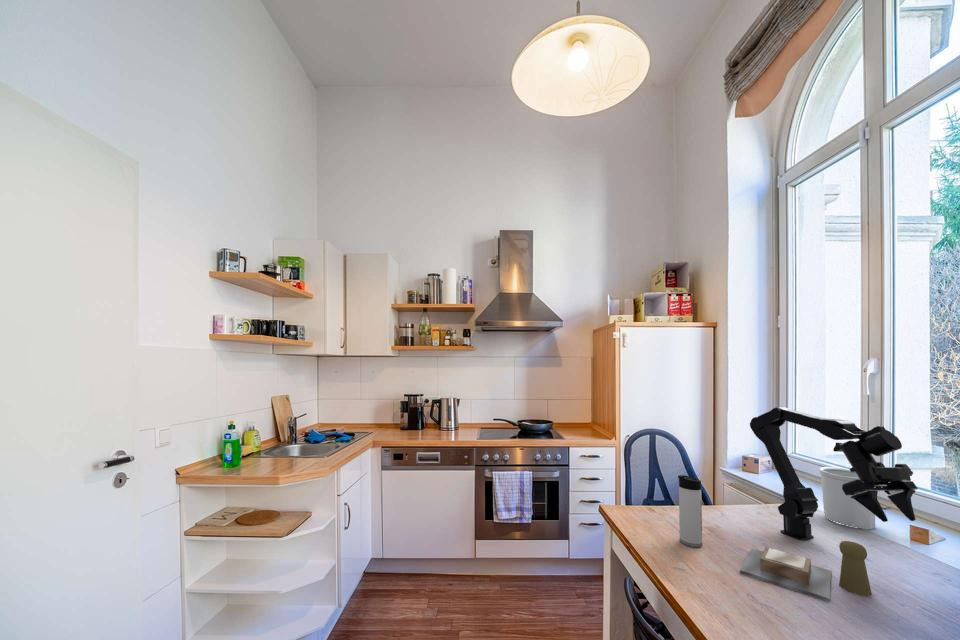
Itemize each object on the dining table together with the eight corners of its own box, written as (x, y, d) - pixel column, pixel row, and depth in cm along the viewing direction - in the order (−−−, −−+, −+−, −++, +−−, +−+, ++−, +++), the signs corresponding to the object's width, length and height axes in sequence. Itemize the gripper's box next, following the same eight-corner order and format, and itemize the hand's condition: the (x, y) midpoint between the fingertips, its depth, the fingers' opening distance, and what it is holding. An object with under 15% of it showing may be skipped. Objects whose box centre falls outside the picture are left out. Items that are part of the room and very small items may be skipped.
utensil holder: (866, 533, 137) (863, 479, 139) (814, 517, 150) (811, 468, 152) (885, 526, 144) (882, 475, 145) (833, 511, 157) (831, 465, 159)
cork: (878, 597, 98) (875, 549, 99) (849, 593, 100) (846, 546, 101) (860, 584, 104) (858, 539, 105) (833, 580, 105) (831, 536, 106)
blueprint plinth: (740, 573, 108) (739, 557, 108) (751, 551, 121) (751, 537, 121) (829, 601, 96) (828, 583, 96) (831, 573, 109) (830, 557, 110)
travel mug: (674, 538, 128) (673, 473, 130) (694, 538, 129) (693, 473, 131) (686, 547, 122) (684, 479, 124) (707, 547, 122) (705, 479, 124)
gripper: (861, 451, 109) (901, 514, 100) (916, 452, 113) (960, 513, 103) (826, 465, 118) (860, 524, 108) (878, 465, 121) (915, 522, 112)
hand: (899, 521), depth 108 cm, fingers open, 9 cm apart
